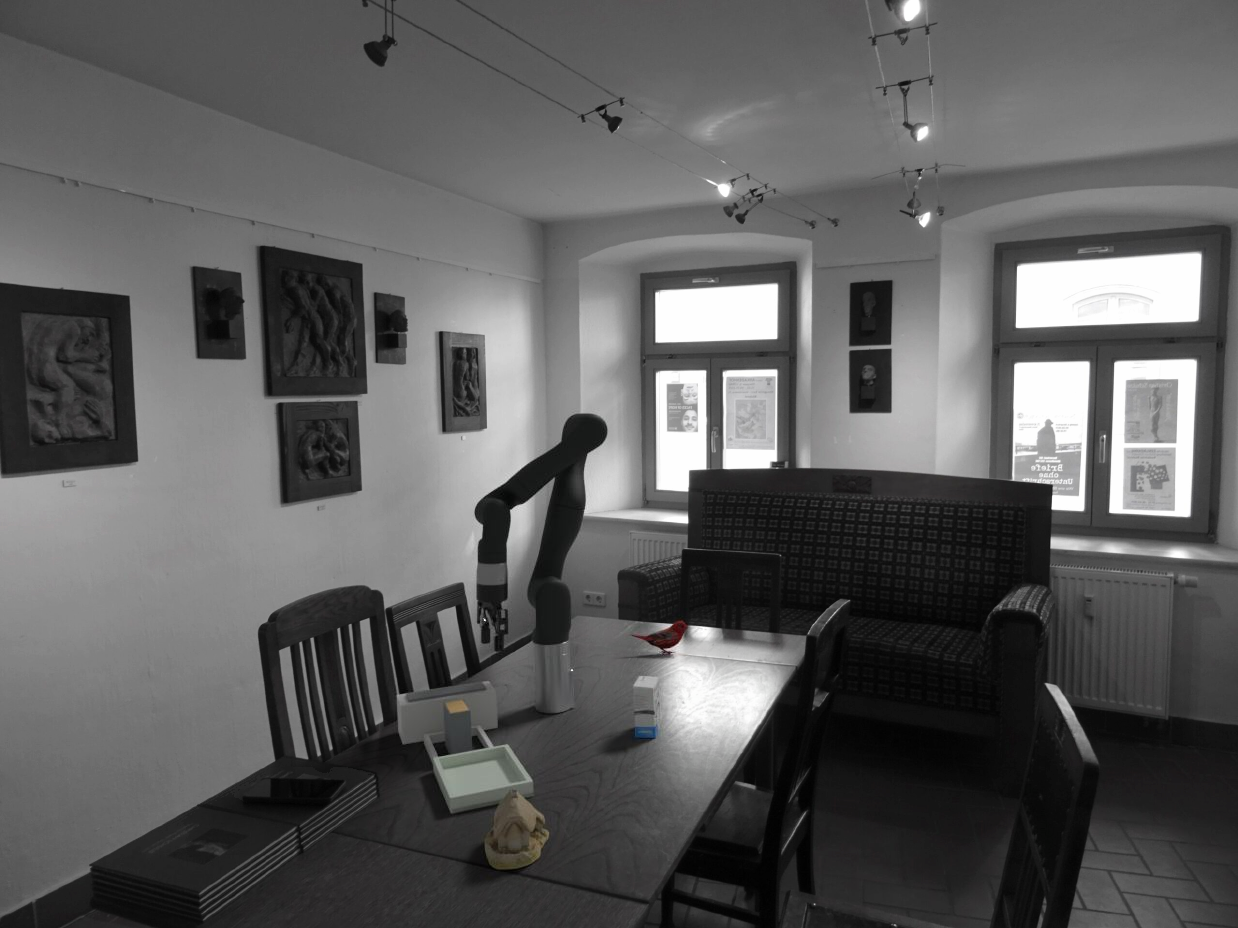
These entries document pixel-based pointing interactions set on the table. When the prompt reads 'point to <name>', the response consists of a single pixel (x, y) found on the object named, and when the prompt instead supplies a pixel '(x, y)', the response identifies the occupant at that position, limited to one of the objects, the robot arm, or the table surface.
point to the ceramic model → (515, 833)
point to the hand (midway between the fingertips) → (492, 647)
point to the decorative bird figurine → (666, 637)
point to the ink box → (646, 707)
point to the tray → (480, 777)
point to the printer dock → (426, 713)
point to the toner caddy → (457, 727)
